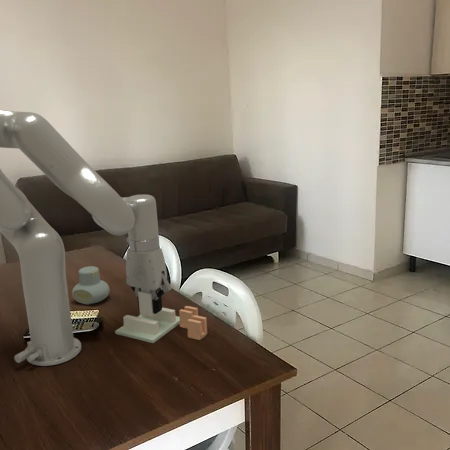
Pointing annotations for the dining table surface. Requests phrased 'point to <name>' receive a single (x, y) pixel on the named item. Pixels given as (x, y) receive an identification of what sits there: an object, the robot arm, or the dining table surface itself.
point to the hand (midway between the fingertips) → (150, 309)
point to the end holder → (149, 325)
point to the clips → (193, 322)
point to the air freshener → (90, 286)
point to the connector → (146, 302)
